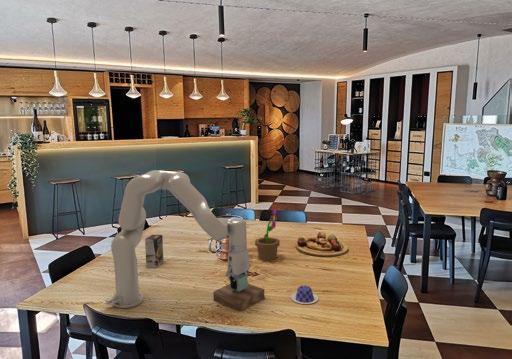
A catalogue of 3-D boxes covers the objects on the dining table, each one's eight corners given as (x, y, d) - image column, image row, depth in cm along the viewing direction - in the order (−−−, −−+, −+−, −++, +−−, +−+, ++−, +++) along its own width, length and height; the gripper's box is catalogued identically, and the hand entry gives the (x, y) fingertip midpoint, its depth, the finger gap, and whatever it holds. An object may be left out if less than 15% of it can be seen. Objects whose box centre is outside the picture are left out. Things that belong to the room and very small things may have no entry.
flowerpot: (276, 264, 208) (276, 211, 204) (251, 261, 213) (250, 209, 208) (282, 255, 222) (282, 205, 217) (259, 252, 226) (259, 203, 222)
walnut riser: (239, 311, 157) (239, 302, 156) (213, 300, 167) (213, 291, 166) (264, 297, 169) (264, 289, 168) (238, 287, 179) (238, 279, 178)
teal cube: (239, 291, 163) (238, 279, 162) (229, 288, 167) (229, 276, 166) (247, 287, 167) (247, 275, 166) (238, 283, 171) (238, 272, 170)
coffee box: (156, 268, 204) (155, 239, 202) (146, 267, 206) (144, 238, 203) (164, 262, 213) (162, 234, 211) (153, 261, 214) (152, 233, 212)
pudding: (286, 295, 172) (286, 284, 171) (310, 291, 175) (310, 280, 174) (297, 307, 160) (297, 295, 159) (323, 303, 164) (323, 291, 163)
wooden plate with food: (292, 255, 222) (292, 242, 220) (298, 238, 252) (299, 226, 251) (348, 260, 214) (348, 247, 213) (348, 242, 245) (348, 230, 243)
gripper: (230, 254, 155) (231, 295, 158) (257, 243, 168) (257, 282, 171) (217, 250, 160) (218, 290, 163) (245, 240, 173) (245, 278, 176)
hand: (238, 286), depth 167 cm, fingers closed on teal cube, 5 cm apart
